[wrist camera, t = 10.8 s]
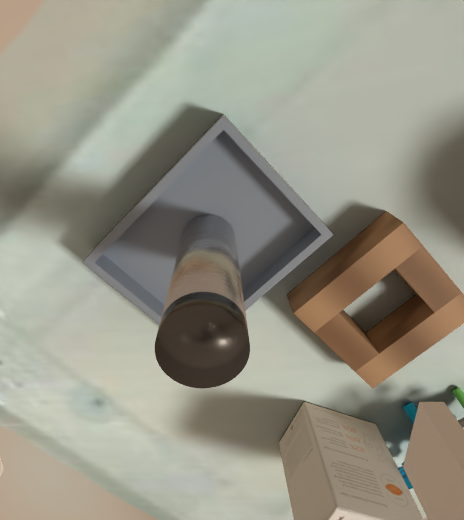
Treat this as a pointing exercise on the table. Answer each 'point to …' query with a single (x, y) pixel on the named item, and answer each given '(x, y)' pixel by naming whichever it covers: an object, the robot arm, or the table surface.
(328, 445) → the small box
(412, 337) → the socket
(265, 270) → the tray
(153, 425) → the table surface
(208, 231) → the pin
